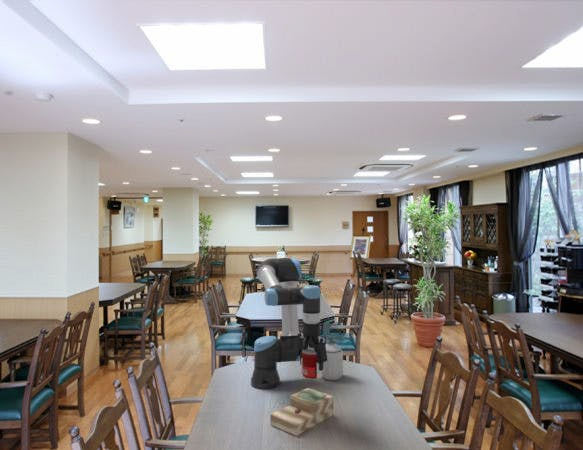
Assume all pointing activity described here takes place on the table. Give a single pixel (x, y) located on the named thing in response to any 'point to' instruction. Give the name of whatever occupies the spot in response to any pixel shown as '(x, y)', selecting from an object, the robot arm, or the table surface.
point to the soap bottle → (332, 356)
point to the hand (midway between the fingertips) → (311, 375)
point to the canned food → (309, 363)
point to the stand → (303, 411)
